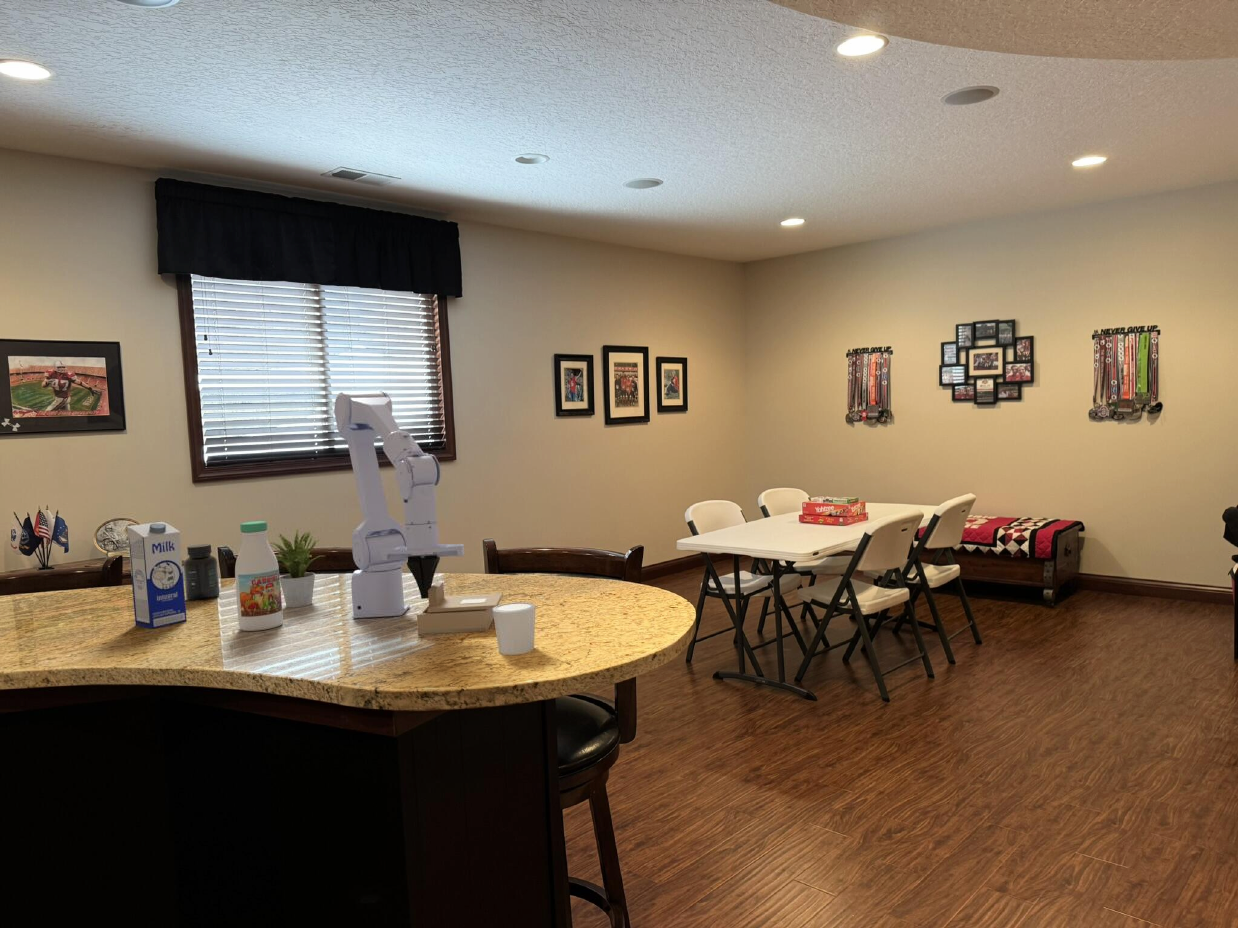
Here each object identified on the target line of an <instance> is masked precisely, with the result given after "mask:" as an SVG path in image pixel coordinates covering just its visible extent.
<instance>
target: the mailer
mask: <svg viewBox="0 0 1238 928" xmlns="http://www.w3.org/2000/svg"><path fill="white" fill-rule="evenodd" d="M428 608H429V601H428V602H427V603H426V604H425V605H424V606H423V607H422V609H420V611H419V612H417V614H416V622H417V624H416V625H417V635H418V636H421V635H438V634H439V635H440V634H441V635H442V634H456V633H457V634H458V633H460V634H461V633H474V632H475V633H478V632H487V631H488V629H489V628H490V625H491V624H492V622H493V621H494V615H493V609H479V610H461V611H443V612H427V609H428Z"/></svg>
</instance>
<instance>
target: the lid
mask: <svg viewBox="0 0 1238 928" xmlns="http://www.w3.org/2000/svg"><path fill="white" fill-rule="evenodd" d="M502 598H503V592H501V593H498V592H497V593H483V594H482V593H481V594H479V593H478V594H467V595H466V594H465V595H463V594H462V595H461V594H460V595H447V596H446V595H445V589H444V581H440V582H439V581H437V582H434V583H433V584H432V587H431V588H430V589H429V590H428V598H427V599H428V602H429V608H428V609H427V612H443V611H461V610H479V609H493V608H494V607H496V606H499V605H500V602H501V600H502Z"/></svg>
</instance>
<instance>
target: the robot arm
mask: <svg viewBox="0 0 1238 928" xmlns="http://www.w3.org/2000/svg"><path fill="white" fill-rule="evenodd" d="M333 412H334V417H335V422H336V428H337V431H338V434H339V437H340V438H341V439H343V440H345V441H347V446H348V451H349V456H350V462H351V466H352V471H353V476H354V481H355V485H356V490H357V491H356V492H357V495H358V499H359V505H360V510H361V511H360V512H361V516H362V520H363V521H362V522H361V523H360V524H359V526H358V527H356V528H355V529H354V531H353V533H352V534H351V541H352V559H353V561H354V563H355V565H356V566H357V567H358V569H356V570H354V571H353V573H352V576H351V580H350V581H351V587H350V589H351V601H352V614H353V615H352V616H351V617H352V618H353V619H363V618H365V619H366V618H379V617H380V618H383V617H397V616H402V615H404V613H405V612H406V611H407V610H408V609H409V608H410V606H411V604H405V600H404V584H403V568H402V567H405V566H407V568H408V570H409V571H410V573H411V575H412V576H413V578H414V580H415V582H416V585H417V587H418V591H419V594H420V598H421V599H423V600H425V599H429V598H428V590H429V589H430V588H431V587H432V586H433V582H434V576H435V574H436V570H437V568H438V565H439V563H440V560H441V558H442V557H463V556H465V544H464V543H463V544H462V543H458V544H455V543H454V544H453V543H450V544H445V543H444V544H441V543H440V544H439V527H438V525H439V524H438V513H437V512H438V509H437V493H436V486H438V484H439V483H440V480H441V475H442V473H441V465H440V462H439V461H438V458H437V457H436V456H435V455H434V454H429V453H428V452H424V451H423V450H422V448H421V447H420V446H419V444H418V443H417V441H416V440H415V438H414V437H413V436H412V435H411V434H410V433H409V432H408V431H405V430H401V429H400V426H398V423H397V422H396V420H395V418H394V416H393V402H392V399H391V397H390V395H389V393H388V392H386V391H385V390H384V391H374V392H370V391H369V392H365V391H364V392H346V391H345V392H344V391H340V392H339V393H338V394H337V396H336V397H335V402H334V409H333ZM379 437H380V438H381V439H382V440H383V442H382V449H383V452H384V455H386V456H387V457H386V458H388V460H389V461H390V463H391V464H392V465H393V467H394V468H395V480H396V483H397V486H398V488H399V496H400V499H402V500H403V501H402V502H403V514H404V516H403V517H404V526H403V523H401V522H399V521H397V520H396V519H394V518H393V517H391V516H390V514H389V511H388V505H387V501H386V500H387V499H386V496H385V491H384V486H383V480H382V477H381V471H380V466H379V462H378V461H379V460H378V457H377V452H376V448H375V440H376V439H377V438H379ZM405 563H406V565H405Z"/></svg>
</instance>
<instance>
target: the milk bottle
mask: <svg viewBox="0 0 1238 928" xmlns="http://www.w3.org/2000/svg"><path fill="white" fill-rule="evenodd" d="M239 527H240V532H241V533H240V535H241V536H242V542H241V546H240V549H239V551H238V555H237V558H236V561H235V566H234V580H235V591H236V592H235V594H236V607H237V616H238V617H237V619H238V628H239V629H240V630H241V631H242V632H243V631H245V632H257V631H265V630H269V629H273V628H277V627H280V626H281V625H282V624H283V620H284V618H283V615H284V613H283V602H282V587H281V582H280V577H281V576H280V570H279V569H280V568H279V567H280V566H279V564H278V563H279V562H278V560H277V558H276V556H275V555H276V554H275V552H274V551H273V549H272V548H271V547H272V546H270V545H271V544H270V542H269V541H268V538H267V533H268V524H267V521H266V520H265V521H263V520H261V521H260V520H258V521H257V520H256V521H249V522H243V523H241V524H240V526H239ZM268 542H269V543H268Z"/></svg>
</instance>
